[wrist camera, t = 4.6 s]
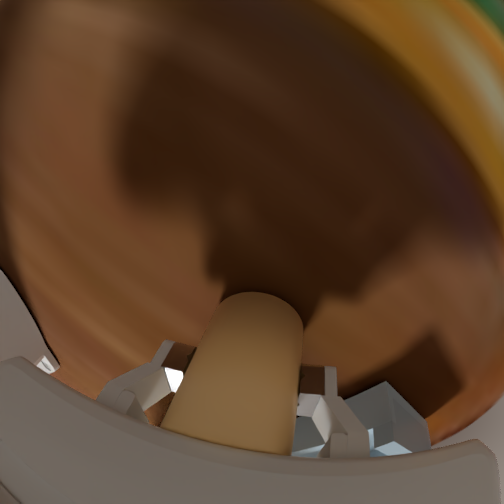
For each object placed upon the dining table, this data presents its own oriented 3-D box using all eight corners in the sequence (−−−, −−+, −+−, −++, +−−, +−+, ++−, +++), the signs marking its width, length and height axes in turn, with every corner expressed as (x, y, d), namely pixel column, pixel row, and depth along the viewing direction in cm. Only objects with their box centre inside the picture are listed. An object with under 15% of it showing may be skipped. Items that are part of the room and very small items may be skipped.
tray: (314, 460, 20) (309, 496, 17) (251, 430, 19) (240, 474, 15) (426, 421, 15) (433, 464, 11) (385, 380, 14) (393, 441, 10)
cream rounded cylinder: (254, 369, 15) (225, 478, 8) (195, 319, 14) (136, 430, 8) (321, 337, 13) (317, 469, 7) (260, 274, 12) (214, 416, 6)
